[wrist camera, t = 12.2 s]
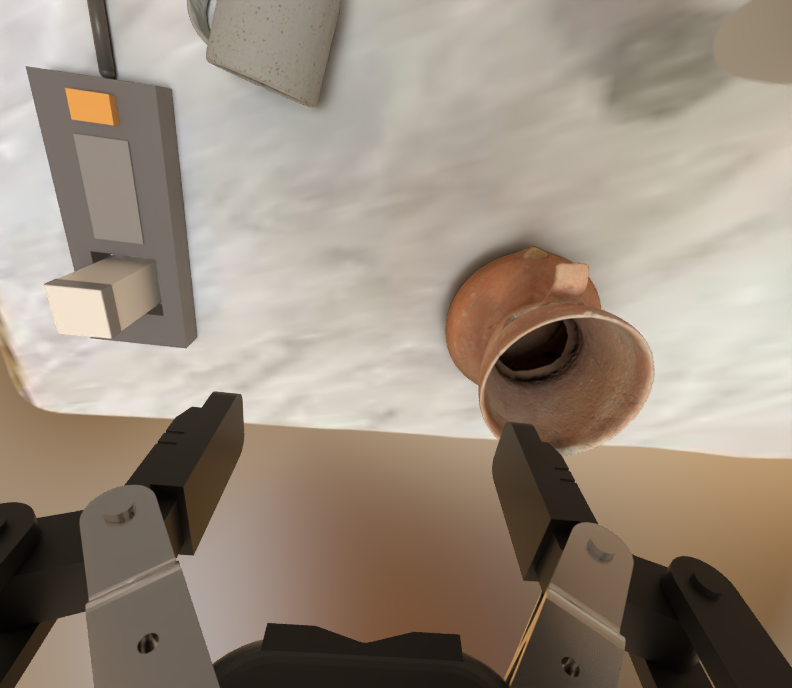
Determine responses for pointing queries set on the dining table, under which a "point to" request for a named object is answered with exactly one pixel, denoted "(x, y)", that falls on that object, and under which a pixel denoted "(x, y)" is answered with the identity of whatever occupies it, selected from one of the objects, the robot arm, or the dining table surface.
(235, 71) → the ceramic mug
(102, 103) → the power strip
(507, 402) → the ceramic jug
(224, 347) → the dining table surface
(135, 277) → the block
